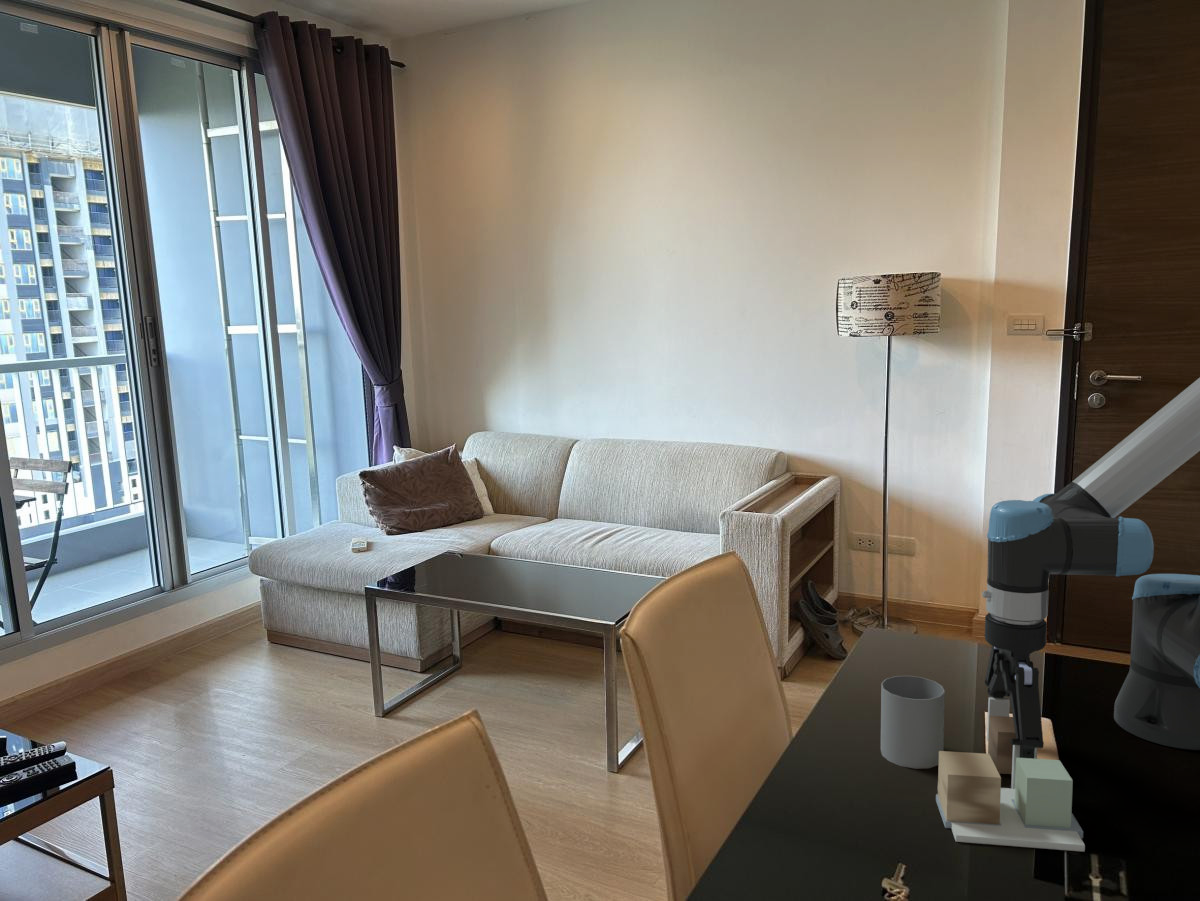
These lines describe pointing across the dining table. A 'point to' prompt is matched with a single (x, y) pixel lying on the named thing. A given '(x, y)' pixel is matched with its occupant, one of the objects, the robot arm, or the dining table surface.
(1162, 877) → the dining table surface
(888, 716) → the cup
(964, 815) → the oak base
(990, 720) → the walnut block
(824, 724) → the dining table surface
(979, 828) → the board
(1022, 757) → the robot arm
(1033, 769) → the sage block
